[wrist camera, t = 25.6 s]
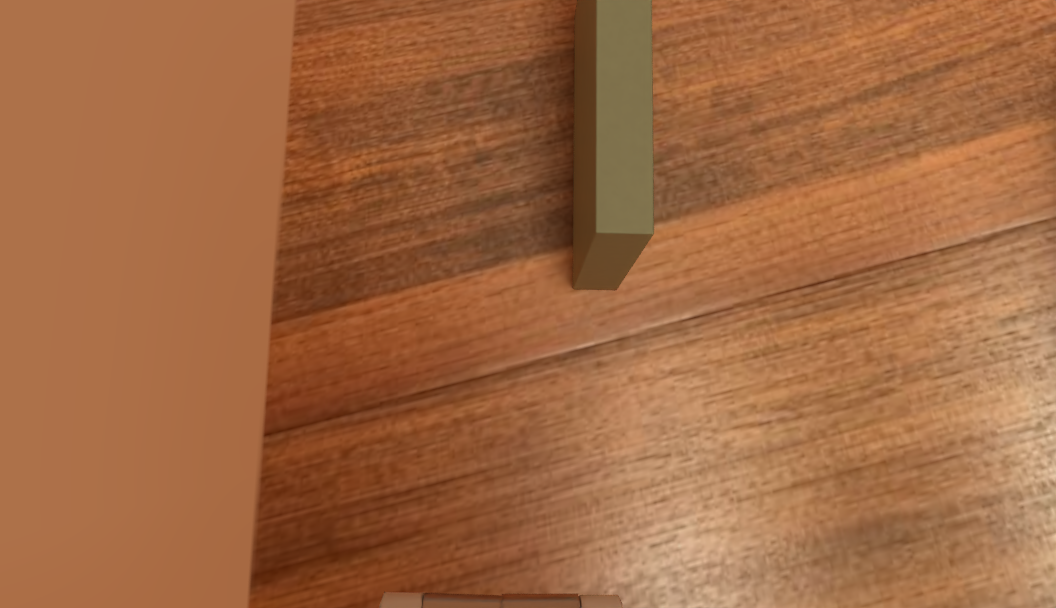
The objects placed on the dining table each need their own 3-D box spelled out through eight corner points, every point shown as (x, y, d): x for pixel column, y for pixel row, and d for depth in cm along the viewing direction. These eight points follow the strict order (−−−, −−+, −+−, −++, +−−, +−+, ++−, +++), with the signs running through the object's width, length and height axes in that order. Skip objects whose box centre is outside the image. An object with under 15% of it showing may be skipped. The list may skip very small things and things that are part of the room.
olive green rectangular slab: (572, 289, 40) (595, 232, 30) (574, 16, 43) (596, -119, 33) (617, 290, 40) (654, 234, 31) (616, 17, 43) (651, -117, 33)
